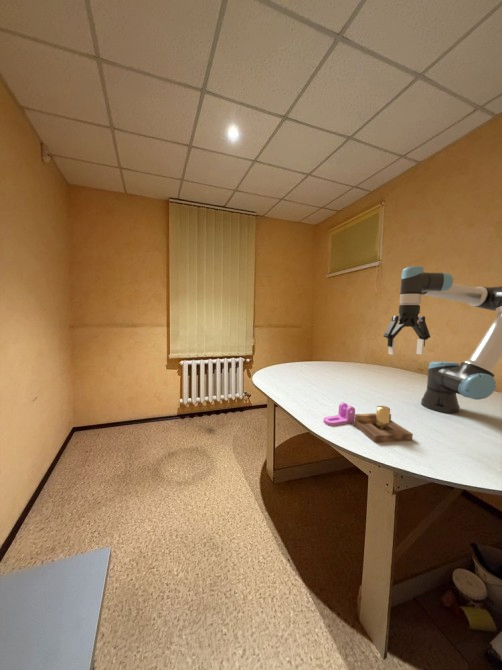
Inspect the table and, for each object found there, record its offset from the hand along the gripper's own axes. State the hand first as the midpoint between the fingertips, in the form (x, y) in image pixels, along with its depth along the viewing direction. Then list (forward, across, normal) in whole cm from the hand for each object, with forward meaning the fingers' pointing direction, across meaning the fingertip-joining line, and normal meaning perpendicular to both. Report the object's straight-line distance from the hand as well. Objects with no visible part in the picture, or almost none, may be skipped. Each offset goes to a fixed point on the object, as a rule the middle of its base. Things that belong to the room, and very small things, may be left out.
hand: (405, 354), depth 106 cm
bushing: (+29, +17, +11) cm, 35 cm away
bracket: (+29, +30, 0) cm, 41 cm away
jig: (+29, +17, +11) cm, 35 cm away
